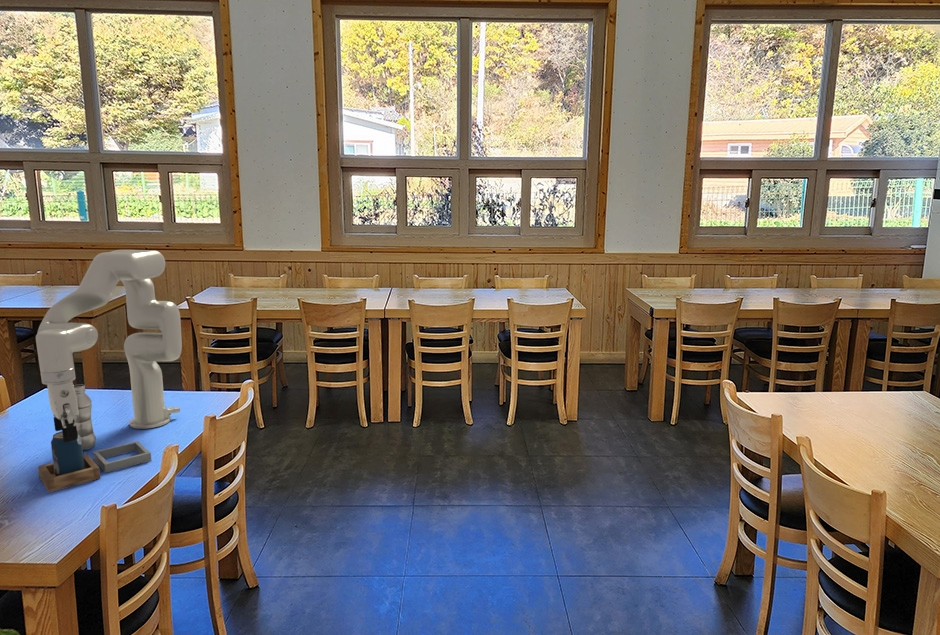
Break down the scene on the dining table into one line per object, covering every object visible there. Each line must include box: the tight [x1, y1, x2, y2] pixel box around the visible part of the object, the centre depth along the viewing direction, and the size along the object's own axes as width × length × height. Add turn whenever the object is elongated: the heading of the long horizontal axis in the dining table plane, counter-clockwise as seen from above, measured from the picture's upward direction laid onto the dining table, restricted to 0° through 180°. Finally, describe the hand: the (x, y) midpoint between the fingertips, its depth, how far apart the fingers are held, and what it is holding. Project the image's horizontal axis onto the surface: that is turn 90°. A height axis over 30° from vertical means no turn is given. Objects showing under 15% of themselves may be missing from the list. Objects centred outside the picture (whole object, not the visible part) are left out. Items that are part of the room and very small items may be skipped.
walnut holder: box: [37, 454, 101, 493], centre depth 167 cm, size 12×12×3 cm
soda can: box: [50, 430, 84, 476], centre depth 167 cm, size 7×7×12 cm
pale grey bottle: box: [73, 384, 97, 451], centre depth 185 cm, size 6×7×20 cm
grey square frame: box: [93, 440, 152, 474], centre depth 179 cm, size 12×12×2 cm
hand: (66, 434), depth 166 cm, fingers open, 9 cm apart
